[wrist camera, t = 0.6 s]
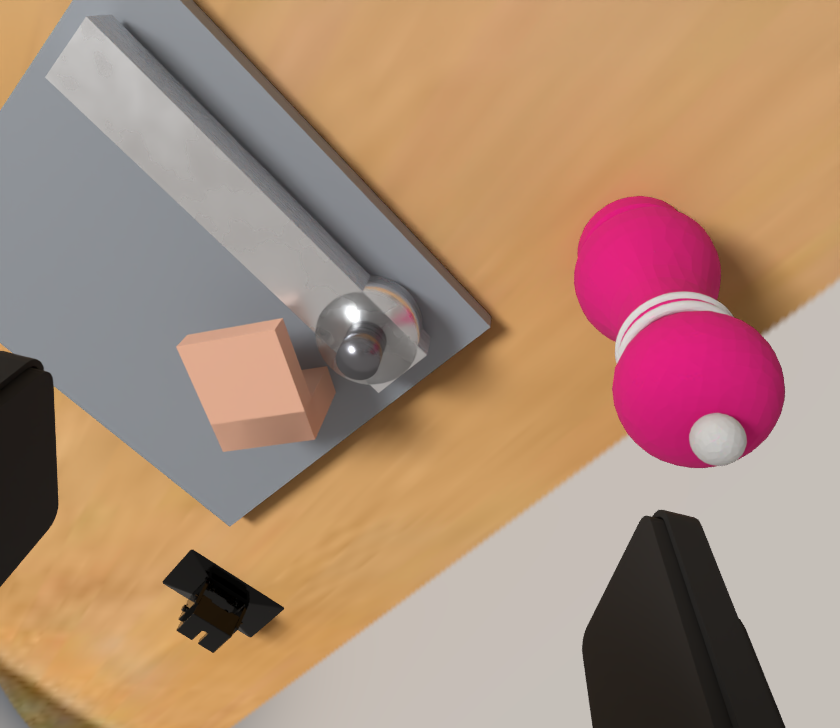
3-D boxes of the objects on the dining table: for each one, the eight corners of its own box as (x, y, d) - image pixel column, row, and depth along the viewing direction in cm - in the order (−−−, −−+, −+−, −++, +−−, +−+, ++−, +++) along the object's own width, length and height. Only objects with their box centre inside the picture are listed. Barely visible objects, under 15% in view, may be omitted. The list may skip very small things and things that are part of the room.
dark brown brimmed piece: (144, 571, 59) (116, 614, 55) (184, 526, 56) (158, 568, 52) (262, 645, 62) (244, 691, 58) (307, 606, 58) (291, 652, 54)
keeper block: (308, 281, 43) (274, 329, 37) (341, 380, 46) (315, 439, 40) (221, 297, 44) (176, 346, 38) (259, 393, 48) (222, 452, 42)
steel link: (443, 327, 41) (434, 367, 37) (374, 382, 44) (358, 425, 39) (122, -1, 35) (65, 1, 30) (62, 85, 37) (1, 99, 33)
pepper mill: (671, 317, 41) (785, 558, 24) (554, 292, 42) (582, 514, 24) (718, 201, 38) (892, 385, 20) (589, 174, 38) (652, 334, 21)
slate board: (131, -65, 35) (116, -67, 34) (491, 316, 43) (490, 327, 41) (-83, 254, 46) (-101, 262, 44) (236, 513, 53) (229, 526, 52)
